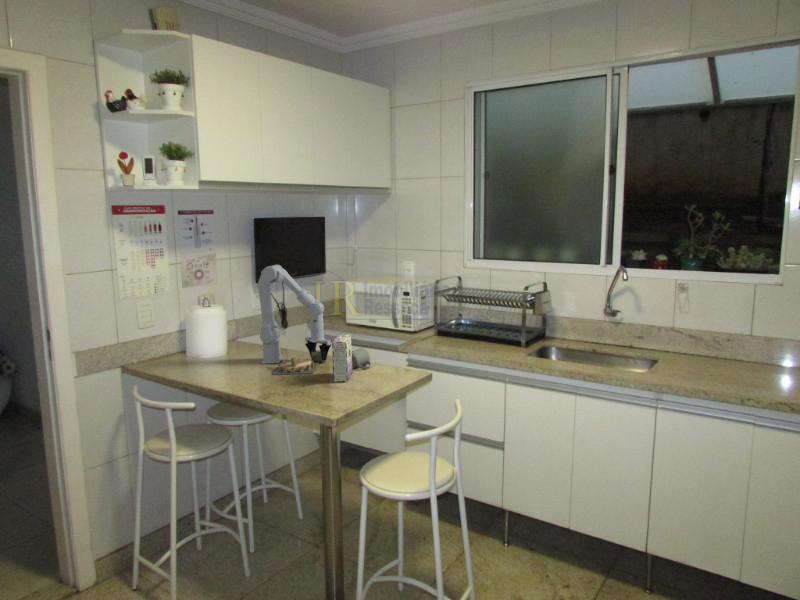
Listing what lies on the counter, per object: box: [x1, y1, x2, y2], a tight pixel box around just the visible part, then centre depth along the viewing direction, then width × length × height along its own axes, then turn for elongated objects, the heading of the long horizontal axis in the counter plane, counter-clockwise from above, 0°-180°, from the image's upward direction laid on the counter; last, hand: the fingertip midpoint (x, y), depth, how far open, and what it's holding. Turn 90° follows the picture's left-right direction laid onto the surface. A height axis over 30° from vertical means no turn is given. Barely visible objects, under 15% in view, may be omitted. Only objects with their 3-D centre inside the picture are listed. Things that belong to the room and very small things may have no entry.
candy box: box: [331, 334, 354, 383], centre depth 221 cm, size 14×6×16 cm, turn 177°
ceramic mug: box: [352, 347, 372, 371], centre depth 236 cm, size 11×8×8 cm
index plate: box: [271, 362, 320, 376], centre depth 237 cm, size 17×17×1 cm
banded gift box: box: [310, 349, 327, 364], centre depth 247 cm, size 3×6×5 cm, turn 89°
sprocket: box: [277, 357, 314, 373], centre depth 236 cm, size 15×15×6 cm
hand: (318, 358), depth 247 cm, fingers closed on banded gift box, 7 cm apart
